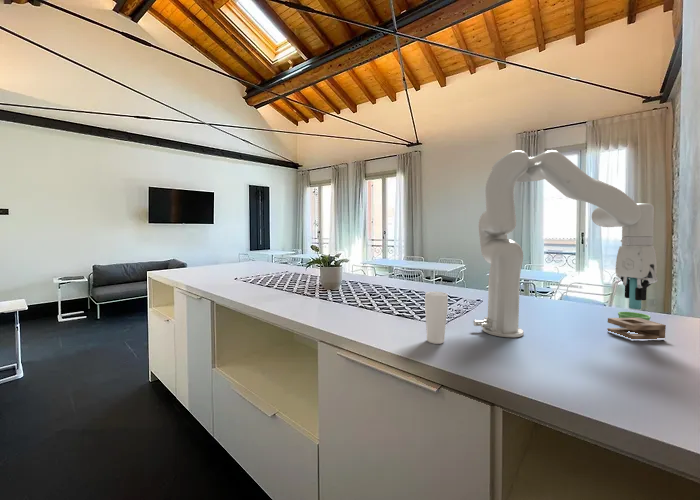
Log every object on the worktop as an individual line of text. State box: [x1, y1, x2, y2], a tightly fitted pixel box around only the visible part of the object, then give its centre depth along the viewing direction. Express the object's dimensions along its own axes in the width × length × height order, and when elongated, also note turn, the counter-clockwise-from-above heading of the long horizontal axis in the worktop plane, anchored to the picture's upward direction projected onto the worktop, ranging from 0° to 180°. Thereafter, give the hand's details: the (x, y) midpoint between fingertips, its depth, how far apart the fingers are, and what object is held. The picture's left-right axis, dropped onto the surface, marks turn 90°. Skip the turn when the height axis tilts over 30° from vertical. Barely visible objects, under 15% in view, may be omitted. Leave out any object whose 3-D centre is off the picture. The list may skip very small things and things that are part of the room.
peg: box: [628, 277, 642, 310], centre depth 105 cm, size 3×3×10 cm
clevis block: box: [606, 317, 667, 339], centre depth 105 cm, size 11×9×5 cm
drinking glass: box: [424, 291, 449, 345], centre depth 99 cm, size 7×7×15 cm
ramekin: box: [617, 311, 651, 321], centre depth 118 cm, size 9×9×4 cm
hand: (635, 298), depth 105 cm, fingers closed on peg, 3 cm apart
